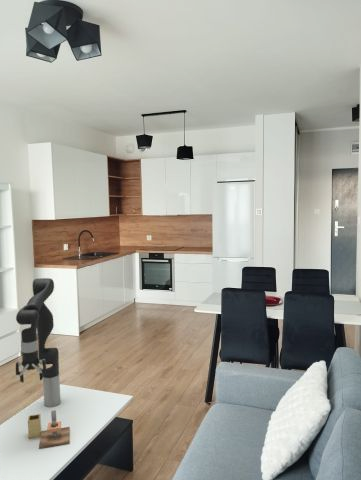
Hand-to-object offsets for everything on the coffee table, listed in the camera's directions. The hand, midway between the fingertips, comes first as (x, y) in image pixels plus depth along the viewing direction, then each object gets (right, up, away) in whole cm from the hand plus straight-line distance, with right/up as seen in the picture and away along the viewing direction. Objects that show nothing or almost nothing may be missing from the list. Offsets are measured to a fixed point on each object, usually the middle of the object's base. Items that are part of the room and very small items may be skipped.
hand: (31, 380), depth 205 cm
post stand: (+12, -28, -2) cm, 31 cm away
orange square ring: (+12, -23, -2) cm, 26 cm away
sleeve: (+1, -28, +2) cm, 28 cm away
